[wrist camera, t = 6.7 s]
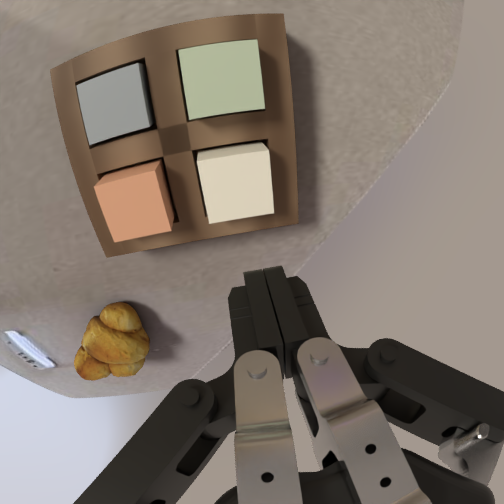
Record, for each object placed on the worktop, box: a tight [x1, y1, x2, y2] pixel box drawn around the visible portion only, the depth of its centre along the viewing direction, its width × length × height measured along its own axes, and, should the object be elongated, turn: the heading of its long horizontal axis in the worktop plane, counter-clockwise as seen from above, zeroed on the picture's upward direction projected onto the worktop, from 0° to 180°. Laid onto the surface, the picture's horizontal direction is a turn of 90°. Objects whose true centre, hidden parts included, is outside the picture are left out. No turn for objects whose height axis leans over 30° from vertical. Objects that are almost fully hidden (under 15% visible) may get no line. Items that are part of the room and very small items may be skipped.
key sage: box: [179, 39, 265, 120], centre depth 16 cm, size 5×5×3 cm
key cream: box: [197, 142, 274, 224], centre depth 21 cm, size 5×5×3 cm
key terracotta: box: [94, 159, 175, 243], centre depth 20 cm, size 5×5×3 cm
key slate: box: [76, 63, 156, 145], centre depth 17 cm, size 5×5×3 cm
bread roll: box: [74, 302, 150, 380], centre depth 31 cm, size 13×10×8 cm
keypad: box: [50, 14, 298, 258], centre depth 20 cm, size 18×18×4 cm
